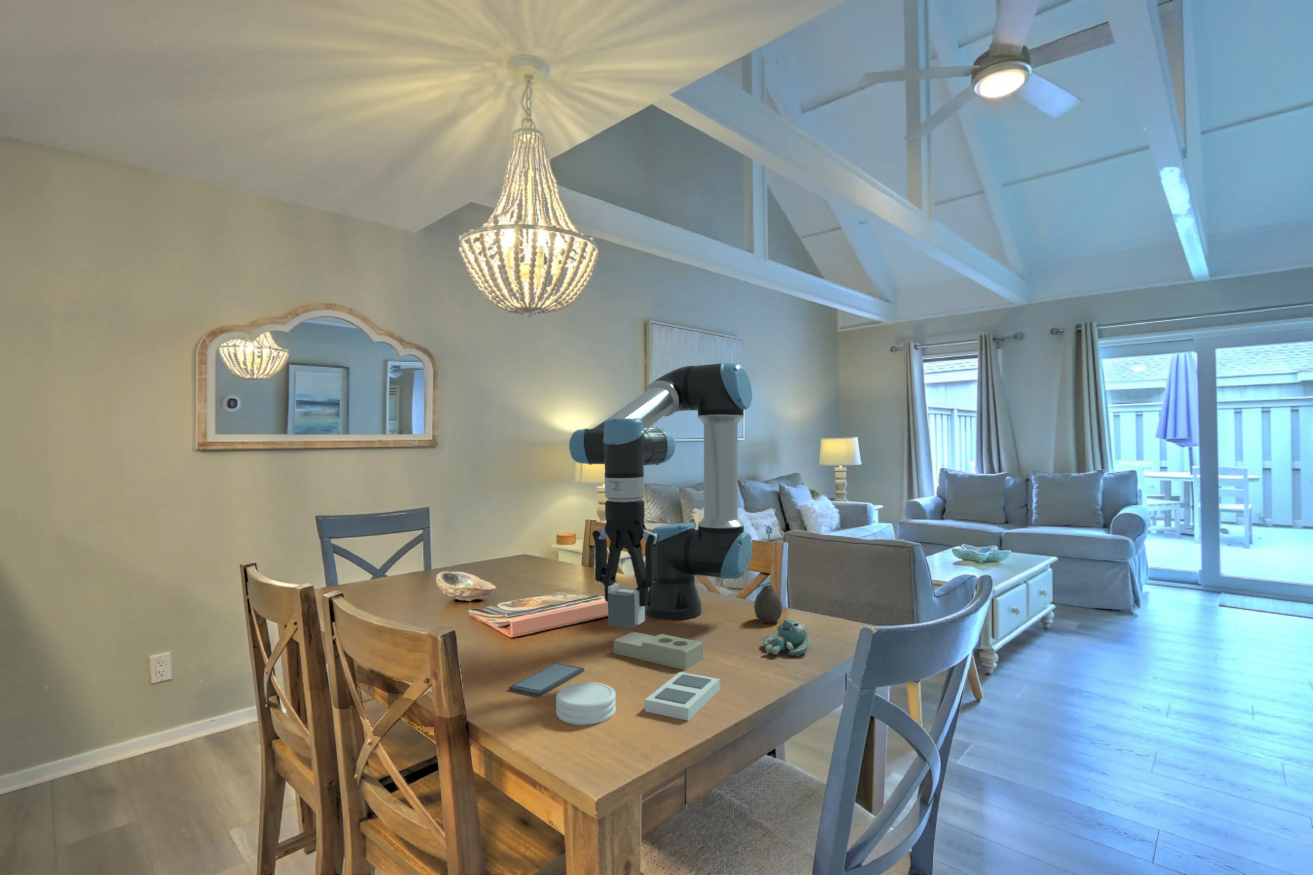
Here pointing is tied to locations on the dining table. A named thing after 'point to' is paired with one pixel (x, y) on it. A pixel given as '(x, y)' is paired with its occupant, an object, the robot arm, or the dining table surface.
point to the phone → (546, 679)
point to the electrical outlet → (660, 649)
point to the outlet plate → (682, 696)
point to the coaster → (585, 703)
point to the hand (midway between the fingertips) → (626, 620)
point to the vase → (768, 605)
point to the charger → (621, 608)
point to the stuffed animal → (788, 639)
